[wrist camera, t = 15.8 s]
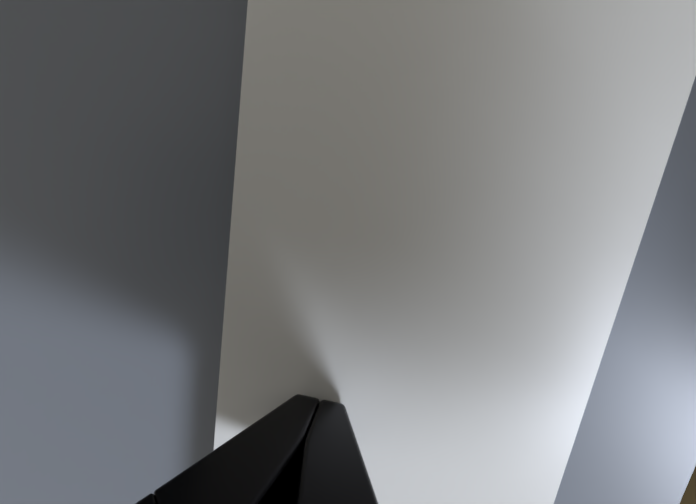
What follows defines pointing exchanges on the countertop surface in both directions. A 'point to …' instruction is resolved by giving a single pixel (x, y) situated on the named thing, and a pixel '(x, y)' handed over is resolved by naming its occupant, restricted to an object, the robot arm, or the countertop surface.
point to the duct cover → (444, 224)
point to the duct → (225, 265)
